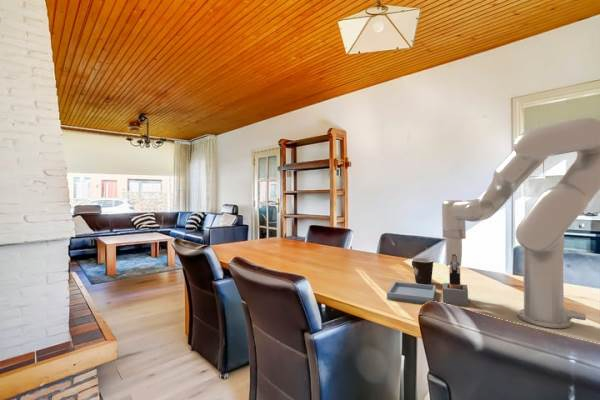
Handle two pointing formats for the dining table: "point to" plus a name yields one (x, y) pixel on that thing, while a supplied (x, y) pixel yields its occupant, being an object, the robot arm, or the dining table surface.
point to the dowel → (454, 284)
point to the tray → (411, 292)
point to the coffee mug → (423, 270)
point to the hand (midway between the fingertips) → (454, 280)
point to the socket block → (455, 294)
